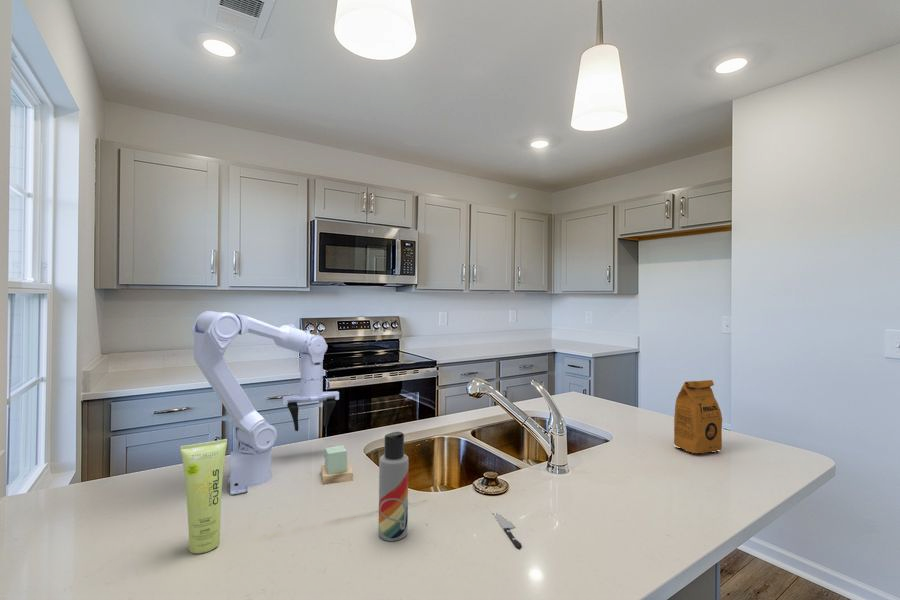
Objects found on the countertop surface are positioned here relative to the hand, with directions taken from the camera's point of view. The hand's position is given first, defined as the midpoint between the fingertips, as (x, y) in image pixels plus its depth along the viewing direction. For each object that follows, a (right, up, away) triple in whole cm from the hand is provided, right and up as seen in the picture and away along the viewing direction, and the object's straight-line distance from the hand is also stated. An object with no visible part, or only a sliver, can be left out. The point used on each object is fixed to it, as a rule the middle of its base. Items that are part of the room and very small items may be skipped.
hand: (311, 428), depth 117 cm
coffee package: (+115, -12, +17) cm, 117 cm away
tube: (-8, -11, -38) cm, 40 cm away
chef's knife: (+49, -12, -27) cm, 58 cm away
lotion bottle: (+27, -12, -32) cm, 43 cm away
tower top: (+9, -9, -10) cm, 16 cm away
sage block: (+9, -7, -10) cm, 16 cm away
